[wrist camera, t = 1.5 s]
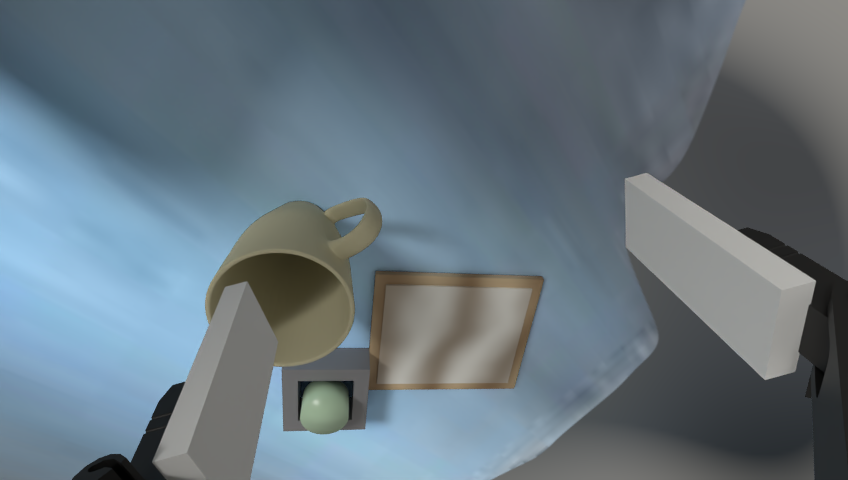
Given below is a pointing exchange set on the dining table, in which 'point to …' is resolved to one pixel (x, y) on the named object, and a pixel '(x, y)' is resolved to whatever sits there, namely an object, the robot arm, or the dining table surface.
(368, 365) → the button housing
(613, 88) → the dining table surface
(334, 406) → the button
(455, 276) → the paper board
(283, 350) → the mug
